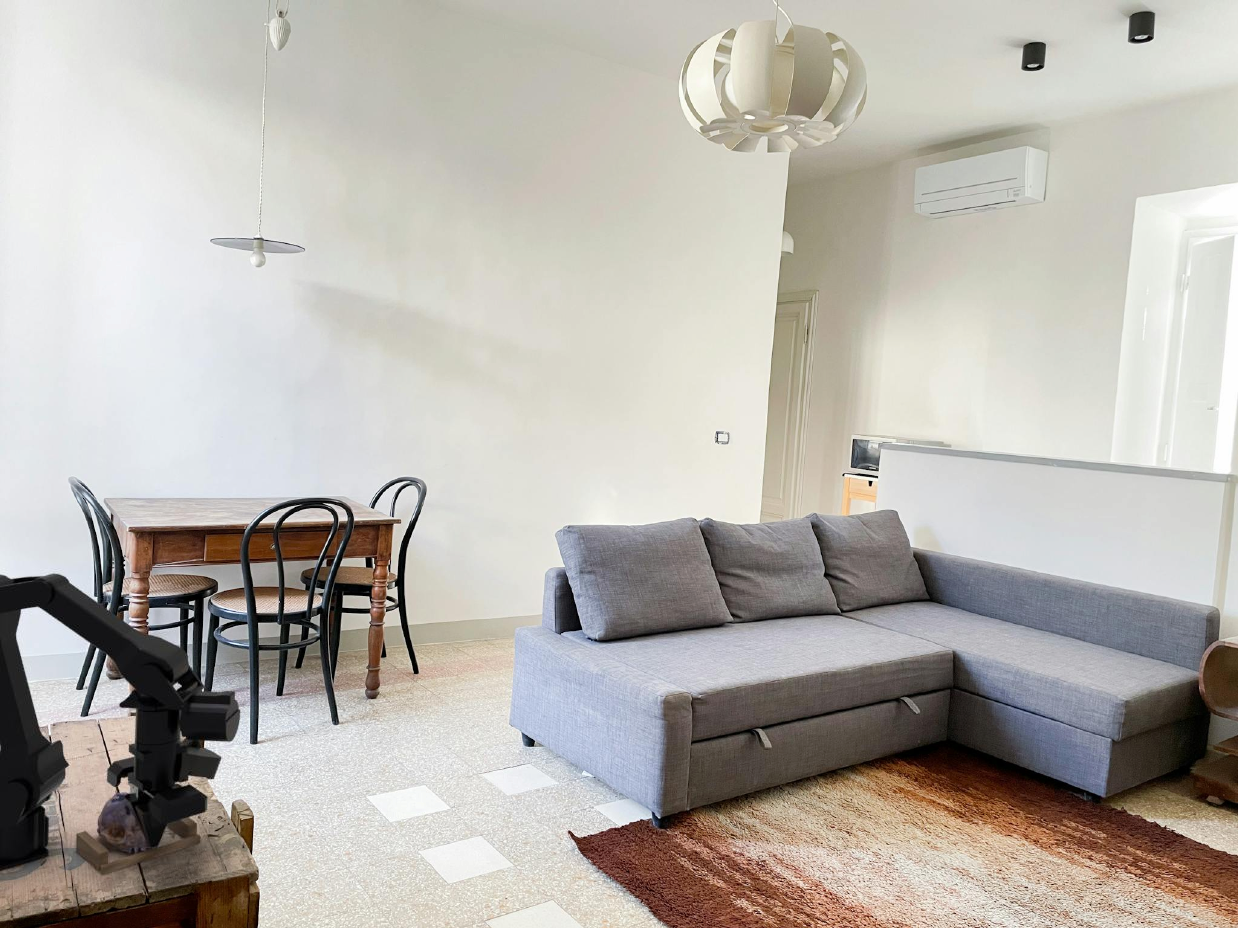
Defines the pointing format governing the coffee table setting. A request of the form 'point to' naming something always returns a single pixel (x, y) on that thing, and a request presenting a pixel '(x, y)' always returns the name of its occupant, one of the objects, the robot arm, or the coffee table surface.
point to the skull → (121, 825)
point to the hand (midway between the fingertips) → (153, 845)
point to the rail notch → (100, 855)
